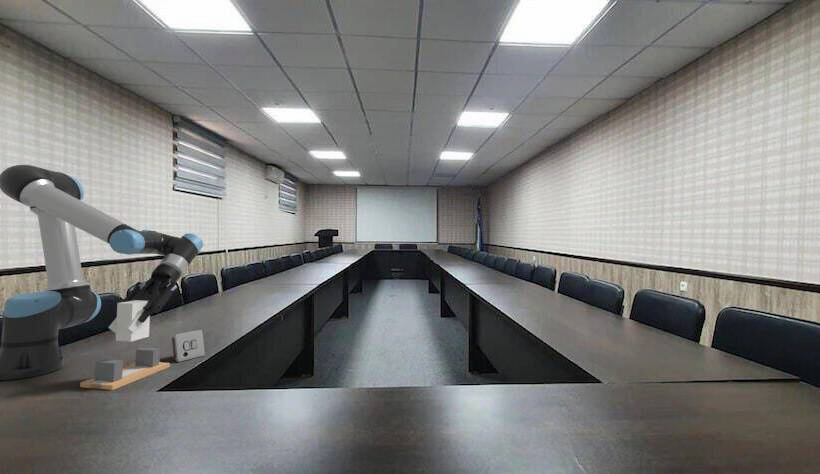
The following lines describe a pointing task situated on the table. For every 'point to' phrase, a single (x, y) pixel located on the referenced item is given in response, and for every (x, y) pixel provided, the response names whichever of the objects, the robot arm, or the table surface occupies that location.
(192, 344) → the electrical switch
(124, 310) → the block
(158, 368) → the board
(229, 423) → the table surface
